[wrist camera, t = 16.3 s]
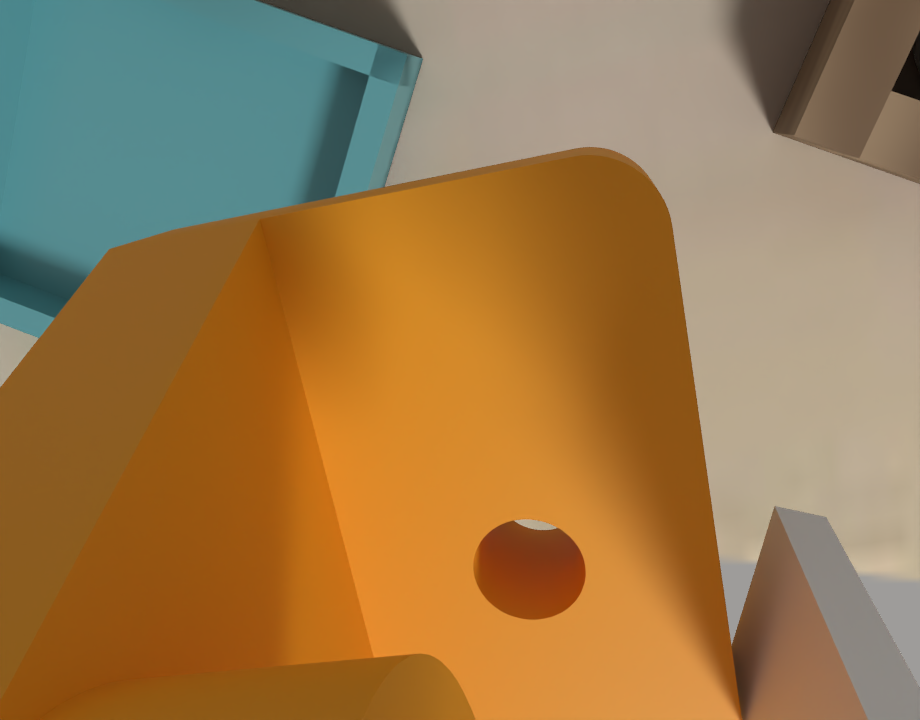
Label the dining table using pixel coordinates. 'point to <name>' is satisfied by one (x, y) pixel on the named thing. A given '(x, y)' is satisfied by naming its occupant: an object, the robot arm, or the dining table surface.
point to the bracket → (371, 466)
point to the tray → (173, 127)
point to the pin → (917, 51)
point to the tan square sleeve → (859, 87)
